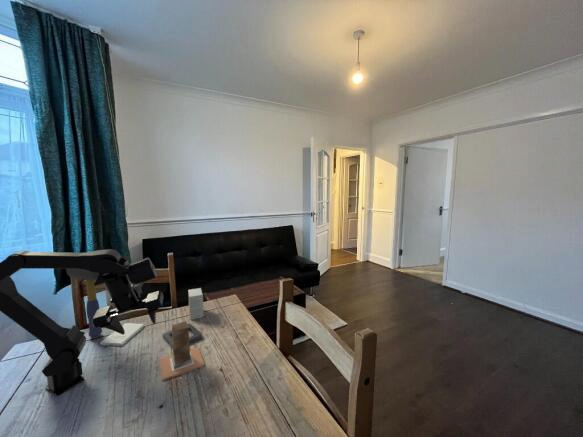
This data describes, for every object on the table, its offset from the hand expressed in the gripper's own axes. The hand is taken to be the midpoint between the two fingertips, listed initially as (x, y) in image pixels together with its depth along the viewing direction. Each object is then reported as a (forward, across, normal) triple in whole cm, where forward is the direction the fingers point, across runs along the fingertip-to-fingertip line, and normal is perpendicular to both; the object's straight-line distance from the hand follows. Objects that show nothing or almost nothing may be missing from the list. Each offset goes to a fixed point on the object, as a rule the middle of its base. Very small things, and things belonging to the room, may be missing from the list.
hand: (139, 328), depth 81 cm
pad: (+12, -10, +9) cm, 18 cm away
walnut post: (+11, -10, +8) cm, 17 cm away
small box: (+19, -12, -22) cm, 31 cm away
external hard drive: (+12, +12, -14) cm, 22 cm away
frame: (+14, -9, -6) cm, 18 cm away
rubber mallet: (+10, +22, -16) cm, 29 cm away
